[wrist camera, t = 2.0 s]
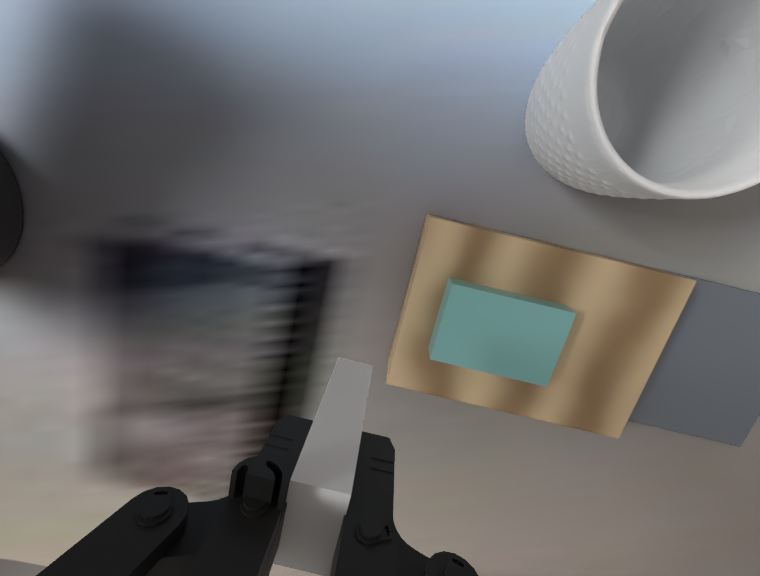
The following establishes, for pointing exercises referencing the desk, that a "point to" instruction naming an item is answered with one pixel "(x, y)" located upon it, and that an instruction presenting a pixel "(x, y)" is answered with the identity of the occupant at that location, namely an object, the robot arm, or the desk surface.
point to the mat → (708, 367)
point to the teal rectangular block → (499, 332)
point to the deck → (552, 283)
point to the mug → (652, 100)
